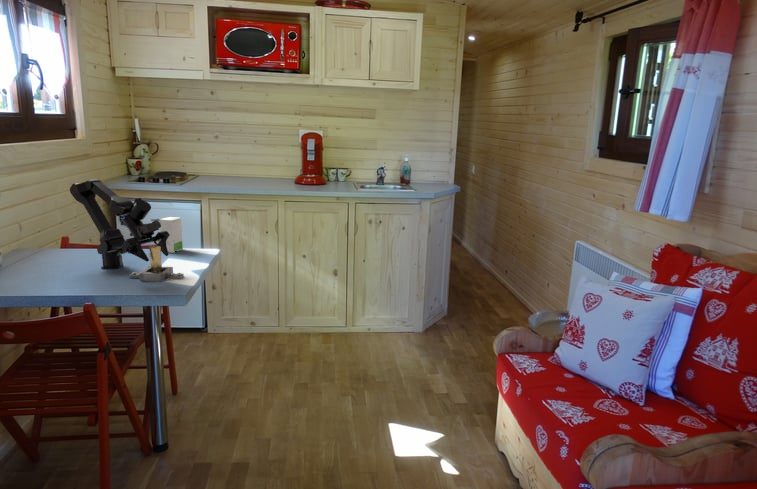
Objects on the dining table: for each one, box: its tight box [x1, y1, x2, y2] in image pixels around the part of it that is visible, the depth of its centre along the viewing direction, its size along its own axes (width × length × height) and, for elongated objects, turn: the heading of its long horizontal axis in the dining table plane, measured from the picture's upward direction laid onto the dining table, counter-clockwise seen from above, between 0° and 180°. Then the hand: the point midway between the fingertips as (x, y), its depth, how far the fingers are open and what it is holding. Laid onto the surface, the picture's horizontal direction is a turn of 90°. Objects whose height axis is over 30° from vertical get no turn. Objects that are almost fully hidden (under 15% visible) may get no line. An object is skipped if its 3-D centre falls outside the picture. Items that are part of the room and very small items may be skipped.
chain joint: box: [129, 265, 185, 282], centre depth 202 cm, size 20×9×3 cm, turn 93°
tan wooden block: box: [148, 244, 163, 273], centre depth 201 cm, size 4×4×12 cm
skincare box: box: [159, 216, 184, 254], centre depth 240 cm, size 8×7×16 cm
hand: (158, 258), depth 200 cm, fingers open, 9 cm apart
